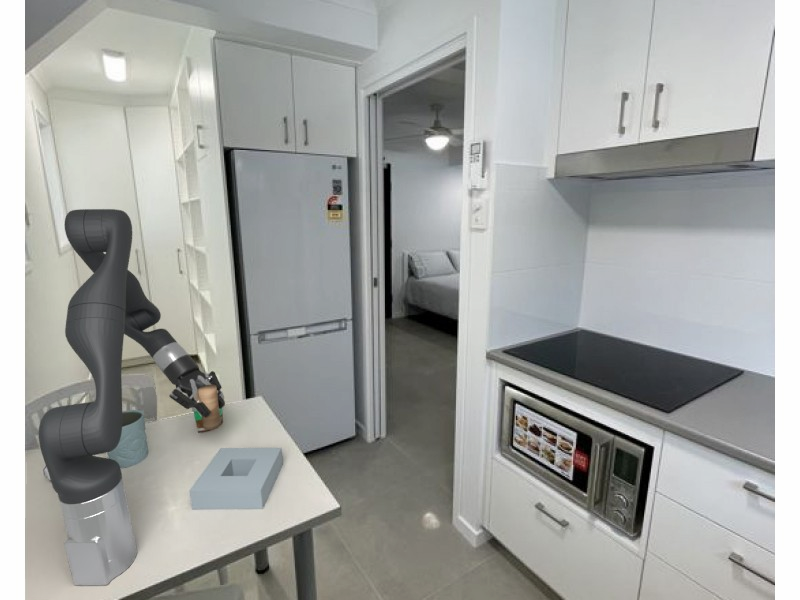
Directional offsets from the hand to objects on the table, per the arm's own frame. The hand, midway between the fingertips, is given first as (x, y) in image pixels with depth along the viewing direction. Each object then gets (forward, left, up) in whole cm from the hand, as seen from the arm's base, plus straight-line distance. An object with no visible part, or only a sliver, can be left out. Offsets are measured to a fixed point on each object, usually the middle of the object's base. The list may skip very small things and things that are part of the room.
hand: (215, 410), depth 107 cm
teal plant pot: (-1, +25, -14) cm, 28 cm away
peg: (+1, +2, -5) cm, 5 cm away
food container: (+16, +9, -14) cm, 23 cm away
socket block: (-12, -10, -13) cm, 21 cm away
